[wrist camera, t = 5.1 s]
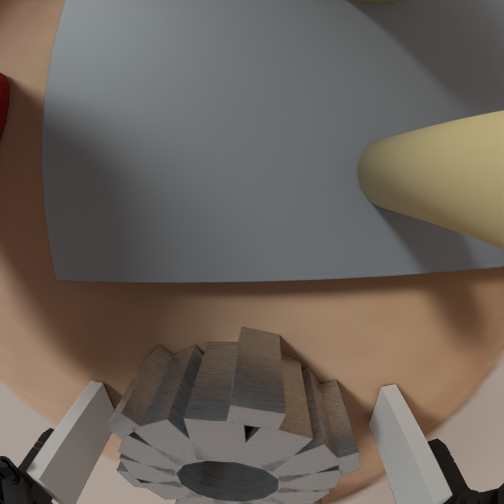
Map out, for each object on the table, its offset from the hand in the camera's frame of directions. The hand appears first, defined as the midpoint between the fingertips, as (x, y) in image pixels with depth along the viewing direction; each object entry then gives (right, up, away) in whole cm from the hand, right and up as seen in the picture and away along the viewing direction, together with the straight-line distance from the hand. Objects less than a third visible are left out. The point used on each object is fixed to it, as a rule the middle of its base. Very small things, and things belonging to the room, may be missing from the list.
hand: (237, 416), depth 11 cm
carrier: (+4, +18, -5) cm, 19 cm away
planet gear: (0, 0, 0) cm, 0 cm away
